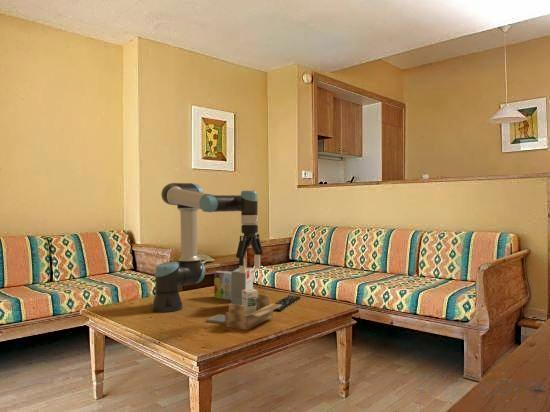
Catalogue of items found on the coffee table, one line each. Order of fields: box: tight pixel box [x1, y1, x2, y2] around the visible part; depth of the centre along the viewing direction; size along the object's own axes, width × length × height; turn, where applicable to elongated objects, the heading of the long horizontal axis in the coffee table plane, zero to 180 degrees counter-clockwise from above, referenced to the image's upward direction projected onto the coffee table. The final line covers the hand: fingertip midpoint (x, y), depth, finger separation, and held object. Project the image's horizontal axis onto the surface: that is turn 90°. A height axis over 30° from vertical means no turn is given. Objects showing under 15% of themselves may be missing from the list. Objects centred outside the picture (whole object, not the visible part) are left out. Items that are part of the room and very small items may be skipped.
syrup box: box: [242, 288, 259, 315], centre depth 201 cm, size 6×6×14 cm
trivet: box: [205, 313, 225, 325], centre depth 203 cm, size 10×10×1 cm
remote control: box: [273, 294, 302, 313], centre depth 234 cm, size 8×32×2 cm, turn 158°
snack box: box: [213, 270, 232, 301], centre depth 247 cm, size 21×6×15 cm, turn 59°
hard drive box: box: [230, 267, 254, 305], centre depth 226 cm, size 16×8×20 cm, turn 168°
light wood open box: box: [224, 293, 282, 331], centre depth 200 cm, size 17×24×10 cm
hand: (250, 270), depth 201 cm, fingers open, 13 cm apart
